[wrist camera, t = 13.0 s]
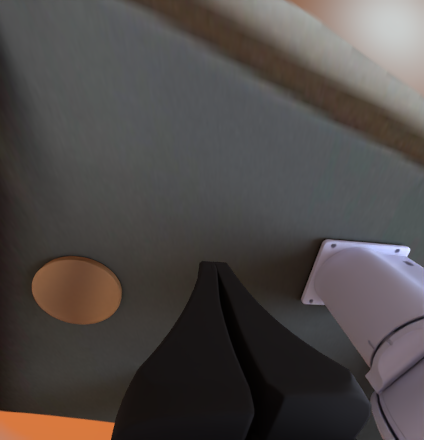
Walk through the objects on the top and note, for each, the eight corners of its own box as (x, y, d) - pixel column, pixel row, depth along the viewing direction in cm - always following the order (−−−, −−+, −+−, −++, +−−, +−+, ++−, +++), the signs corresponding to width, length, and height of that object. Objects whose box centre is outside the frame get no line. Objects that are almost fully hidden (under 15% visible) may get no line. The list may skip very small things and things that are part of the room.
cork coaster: (121, 258, 21) (119, 262, 21) (123, 321, 25) (121, 325, 24) (28, 252, 20) (23, 256, 20) (42, 318, 24) (39, 323, 23)
